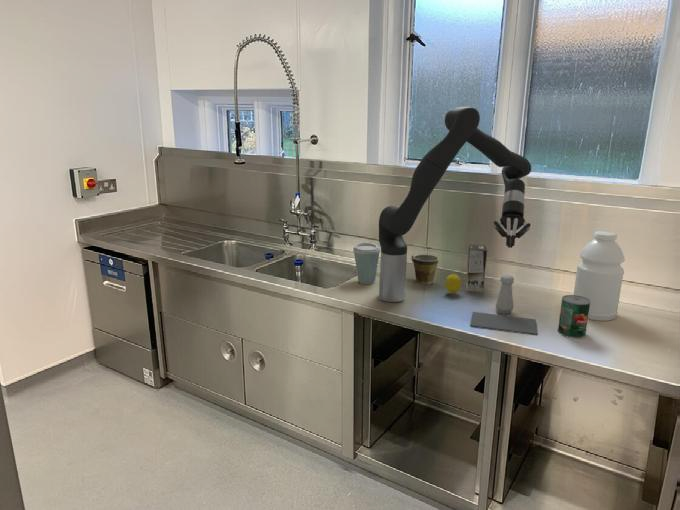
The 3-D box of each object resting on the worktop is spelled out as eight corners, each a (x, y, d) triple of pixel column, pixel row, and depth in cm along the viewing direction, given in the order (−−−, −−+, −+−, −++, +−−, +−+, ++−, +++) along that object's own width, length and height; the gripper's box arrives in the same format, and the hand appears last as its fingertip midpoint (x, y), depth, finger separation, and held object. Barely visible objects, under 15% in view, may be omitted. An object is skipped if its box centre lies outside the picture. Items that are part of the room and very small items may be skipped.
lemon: (461, 293, 195) (463, 272, 193) (458, 297, 190) (459, 276, 188) (446, 290, 197) (448, 270, 195) (443, 295, 192) (444, 274, 190)
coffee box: (483, 292, 196) (487, 250, 192) (466, 290, 197) (469, 249, 193) (482, 284, 205) (485, 244, 200) (465, 283, 206) (468, 243, 202)
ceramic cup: (442, 283, 206) (444, 258, 203) (423, 287, 200) (425, 262, 198) (420, 274, 216) (421, 251, 213) (401, 278, 211) (402, 254, 208)
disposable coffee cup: (383, 285, 203) (384, 247, 199) (356, 287, 200) (357, 249, 196) (374, 277, 213) (375, 241, 209) (349, 278, 210) (349, 242, 206)
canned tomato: (583, 340, 155) (588, 305, 152) (555, 334, 159) (559, 300, 156) (587, 331, 162) (592, 298, 159) (560, 325, 166) (564, 293, 163)
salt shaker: (492, 309, 179) (495, 273, 175) (508, 309, 179) (512, 273, 176) (498, 316, 173) (502, 278, 170) (515, 315, 174) (519, 278, 170)
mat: (472, 313, 175) (472, 311, 175) (535, 320, 170) (535, 319, 169) (469, 326, 164) (470, 325, 164) (537, 335, 158) (537, 333, 158)
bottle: (597, 324, 167) (610, 239, 160) (561, 310, 179) (572, 230, 171) (625, 317, 173) (639, 235, 166) (589, 303, 185) (600, 226, 178)
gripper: (494, 198, 187) (490, 239, 179) (533, 200, 183) (531, 242, 176) (494, 210, 194) (490, 250, 186) (531, 212, 190) (529, 253, 182)
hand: (510, 246), depth 181 cm, fingers closed
